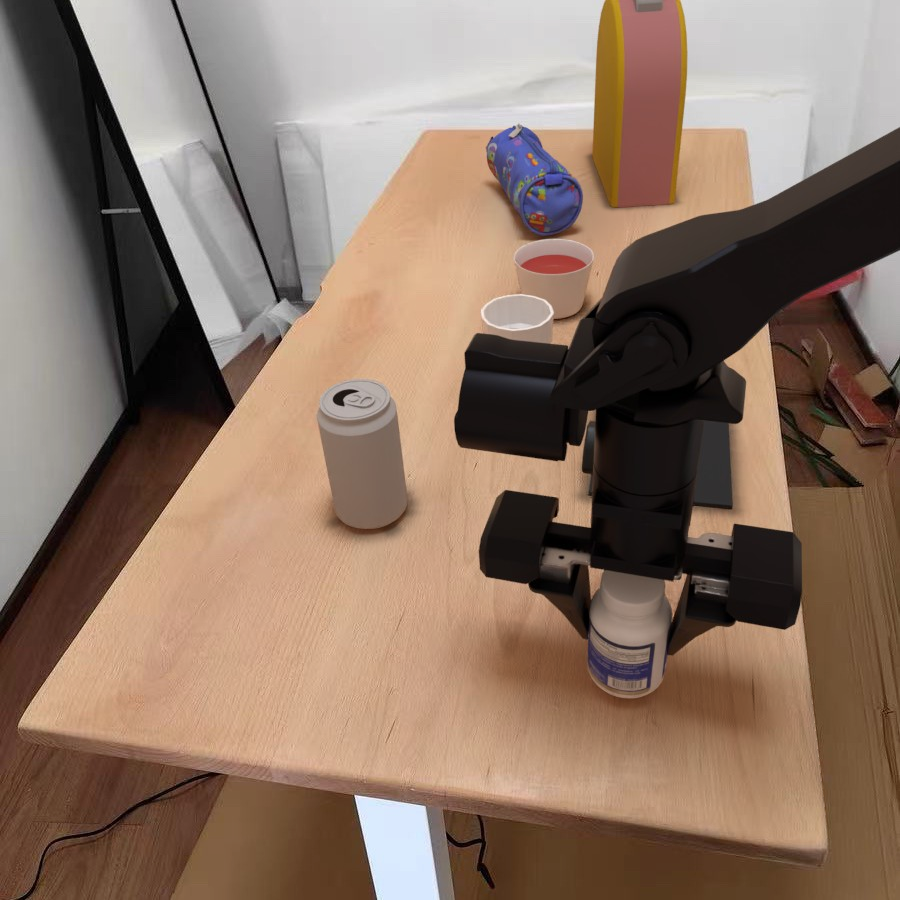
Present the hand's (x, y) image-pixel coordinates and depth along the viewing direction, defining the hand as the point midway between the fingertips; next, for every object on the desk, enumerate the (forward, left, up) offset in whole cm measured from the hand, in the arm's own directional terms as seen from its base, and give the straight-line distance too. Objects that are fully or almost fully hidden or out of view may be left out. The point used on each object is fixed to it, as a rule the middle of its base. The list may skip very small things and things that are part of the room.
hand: (628, 641), depth 58 cm
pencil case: (-15, -80, -4) cm, 81 cm away
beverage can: (+15, -22, -4) cm, 27 cm away
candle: (-10, -52, -4) cm, 53 cm away
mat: (-13, -25, -4) cm, 29 cm away
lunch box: (-32, -86, -4) cm, 91 cm away
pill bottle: (0, 0, -3) cm, 3 cm away
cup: (-1, -33, -4) cm, 33 cm away
